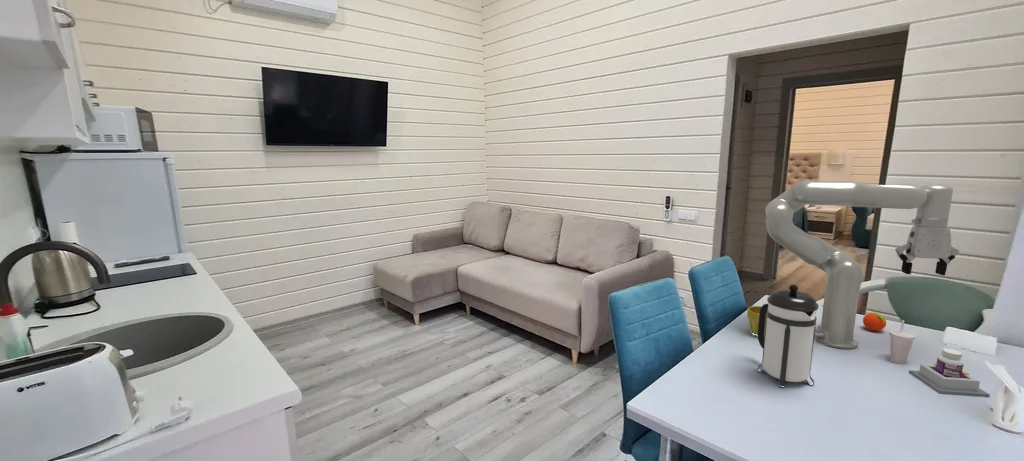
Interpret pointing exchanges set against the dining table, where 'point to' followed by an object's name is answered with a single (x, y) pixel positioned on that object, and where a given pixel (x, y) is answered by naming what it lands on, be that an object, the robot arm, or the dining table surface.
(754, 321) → the plant pot
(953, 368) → the pill bottle
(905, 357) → the smoothie
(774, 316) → the coffee press
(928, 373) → the socket
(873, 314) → the clementine
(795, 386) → the dining table surface
